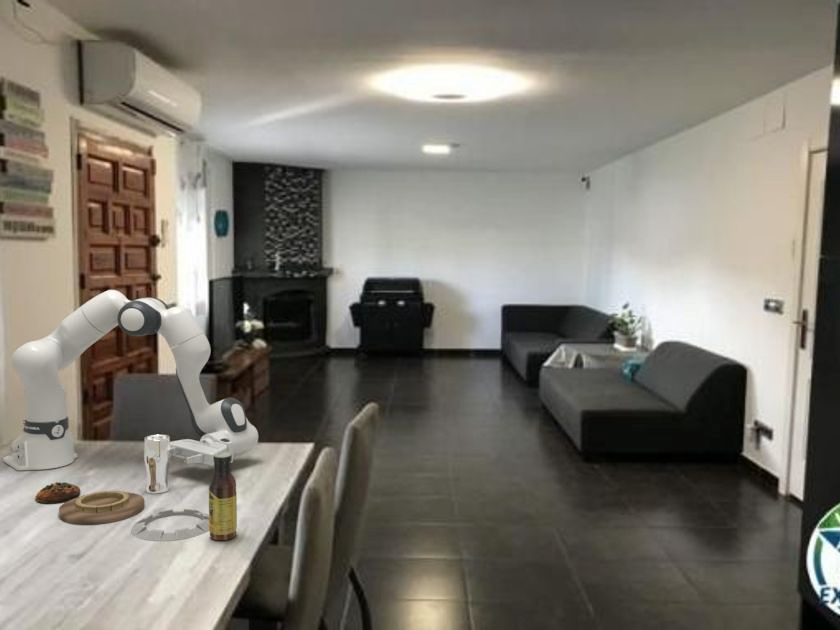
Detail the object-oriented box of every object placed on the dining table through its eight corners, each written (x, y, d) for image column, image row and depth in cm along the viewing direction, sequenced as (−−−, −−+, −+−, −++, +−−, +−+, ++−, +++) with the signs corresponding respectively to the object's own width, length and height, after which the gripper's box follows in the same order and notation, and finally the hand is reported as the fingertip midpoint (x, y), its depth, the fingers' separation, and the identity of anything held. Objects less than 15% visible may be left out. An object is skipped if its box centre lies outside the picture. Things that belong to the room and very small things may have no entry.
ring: (219, 511, 185) (219, 504, 184) (210, 541, 166) (210, 532, 165) (140, 514, 181) (140, 507, 181) (122, 545, 162) (122, 536, 162)
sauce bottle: (212, 531, 170) (211, 449, 168) (238, 531, 170) (238, 449, 169) (206, 542, 163) (205, 457, 162) (234, 542, 164) (233, 457, 162)
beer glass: (162, 495, 195) (161, 441, 193) (139, 493, 196) (138, 439, 195) (175, 487, 201) (175, 435, 200) (153, 485, 203) (152, 433, 202)
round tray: (42, 513, 180) (42, 501, 179) (114, 492, 196) (114, 481, 196) (89, 531, 169) (88, 518, 168) (160, 507, 185) (160, 496, 185)
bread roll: (62, 505, 185) (60, 486, 185) (25, 507, 187) (23, 488, 187) (90, 494, 196) (88, 475, 196) (55, 495, 198) (53, 478, 198)
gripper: (190, 432, 220) (151, 441, 208) (236, 442, 209) (198, 452, 197) (190, 452, 221) (151, 462, 209) (236, 463, 210) (198, 475, 198)
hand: (174, 457), depth 203 cm, fingers open, 8 cm apart
